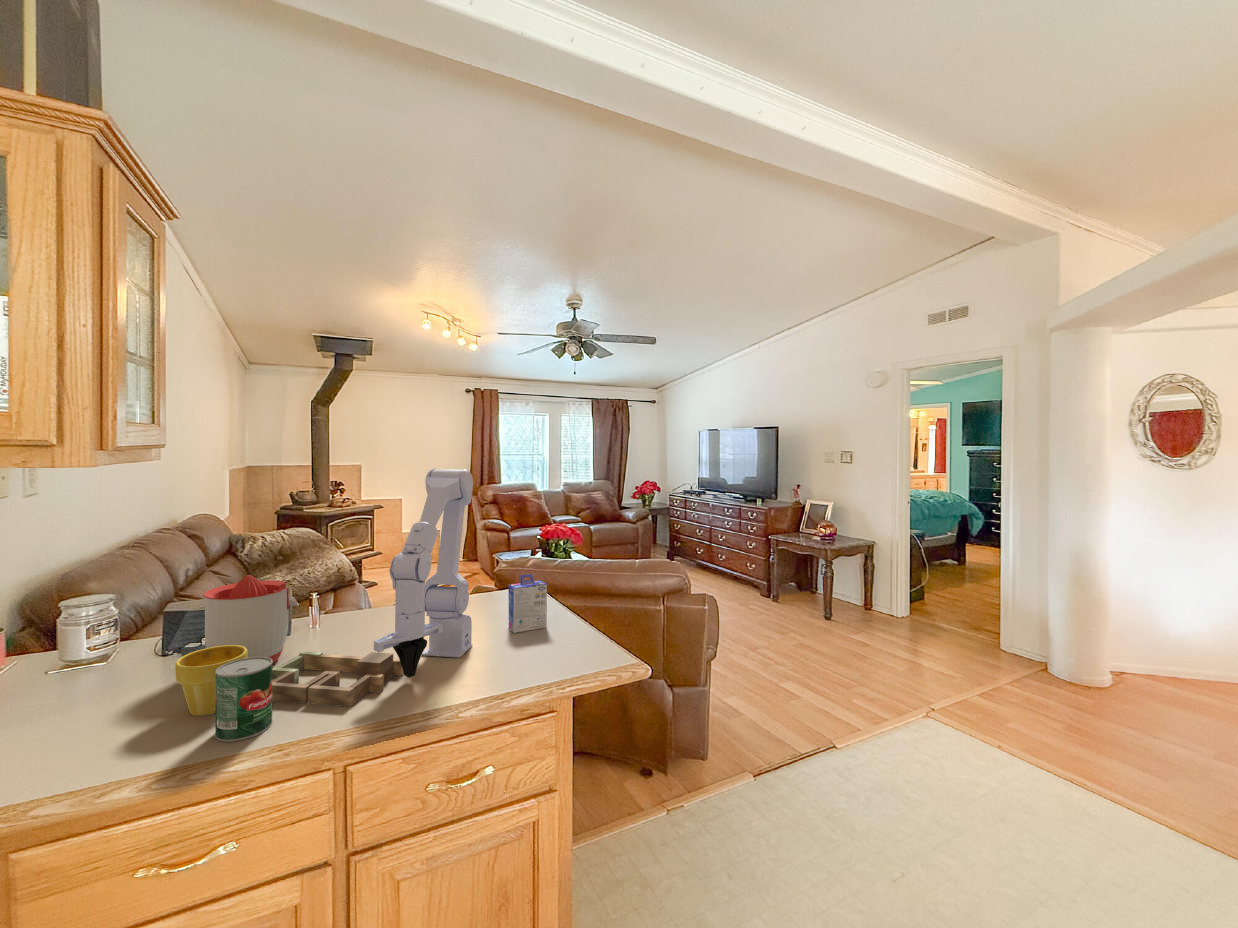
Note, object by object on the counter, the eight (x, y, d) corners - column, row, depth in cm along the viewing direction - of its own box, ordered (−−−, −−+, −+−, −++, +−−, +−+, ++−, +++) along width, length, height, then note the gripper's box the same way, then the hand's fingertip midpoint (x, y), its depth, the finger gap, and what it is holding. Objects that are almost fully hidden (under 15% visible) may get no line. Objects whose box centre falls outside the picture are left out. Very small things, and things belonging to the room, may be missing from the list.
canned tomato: (225, 721, 88) (225, 659, 88) (277, 714, 91) (278, 653, 91) (206, 746, 81) (207, 678, 81) (264, 737, 84) (265, 671, 84)
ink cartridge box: (540, 622, 144) (541, 571, 144) (547, 628, 139) (548, 575, 139) (506, 627, 139) (507, 575, 139) (513, 633, 134) (514, 579, 134)
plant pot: (188, 727, 86) (188, 671, 86) (166, 710, 92) (166, 657, 92) (257, 703, 95) (257, 651, 95) (233, 689, 100) (233, 640, 100)
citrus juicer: (302, 664, 113) (303, 575, 112) (202, 686, 102) (202, 587, 101) (294, 643, 125) (294, 563, 124) (203, 660, 114) (203, 572, 114)
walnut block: (393, 676, 108) (393, 653, 108) (379, 687, 103) (379, 662, 103) (371, 675, 108) (371, 652, 108) (356, 685, 103) (356, 661, 103)
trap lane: (404, 672, 109) (404, 657, 109) (361, 707, 94) (361, 689, 94) (302, 666, 112) (303, 651, 112) (245, 698, 97) (245, 681, 97)
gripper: (429, 599, 113) (428, 659, 113) (365, 615, 101) (365, 682, 101) (448, 605, 109) (448, 667, 109) (385, 622, 97) (384, 692, 97)
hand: (409, 675), depth 105 cm, fingers closed
